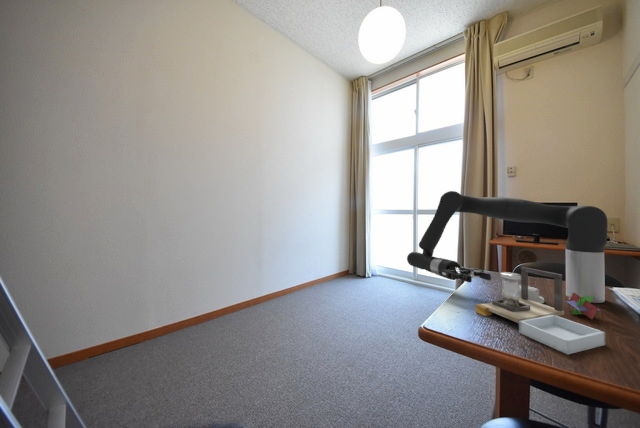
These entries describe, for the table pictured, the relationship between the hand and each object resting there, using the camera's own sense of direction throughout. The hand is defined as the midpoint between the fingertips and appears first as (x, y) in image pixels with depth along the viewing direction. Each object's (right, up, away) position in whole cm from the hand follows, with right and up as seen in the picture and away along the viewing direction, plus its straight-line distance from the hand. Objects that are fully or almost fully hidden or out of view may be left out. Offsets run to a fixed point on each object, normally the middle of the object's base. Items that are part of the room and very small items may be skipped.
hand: (480, 278), depth 82 cm
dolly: (+5, -8, -11) cm, 14 cm away
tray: (+4, -9, -23) cm, 25 cm away
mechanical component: (+18, -9, +3) cm, 20 cm away
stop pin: (+3, -6, -10) cm, 12 cm away
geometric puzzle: (+23, -8, -11) cm, 27 cm away
